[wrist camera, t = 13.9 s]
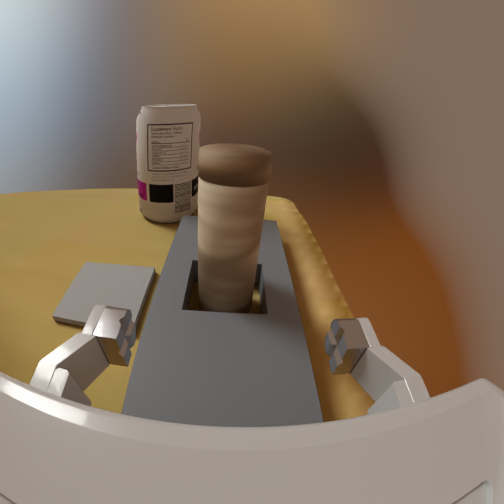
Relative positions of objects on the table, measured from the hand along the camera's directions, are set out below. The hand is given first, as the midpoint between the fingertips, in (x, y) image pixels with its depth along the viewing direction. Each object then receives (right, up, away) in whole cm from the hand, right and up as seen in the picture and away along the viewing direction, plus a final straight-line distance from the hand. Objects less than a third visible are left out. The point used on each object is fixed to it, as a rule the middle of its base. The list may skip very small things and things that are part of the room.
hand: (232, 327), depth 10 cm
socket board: (-2, -2, +13) cm, 13 cm away
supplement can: (-11, +9, +27) cm, 30 cm away
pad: (-12, -1, +12) cm, 17 cm away
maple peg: (-2, -2, +13) cm, 13 cm away
